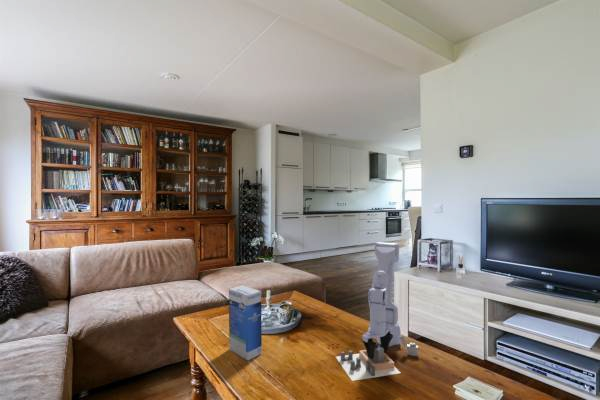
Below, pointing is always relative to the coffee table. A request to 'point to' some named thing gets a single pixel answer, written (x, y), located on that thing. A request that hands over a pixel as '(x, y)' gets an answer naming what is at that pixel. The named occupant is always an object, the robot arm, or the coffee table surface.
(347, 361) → the board
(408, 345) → the lighter
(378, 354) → the block
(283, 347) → the coffee table surface
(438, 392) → the coffee table surface
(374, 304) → the robot arm
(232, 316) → the string lights box
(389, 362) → the frame
